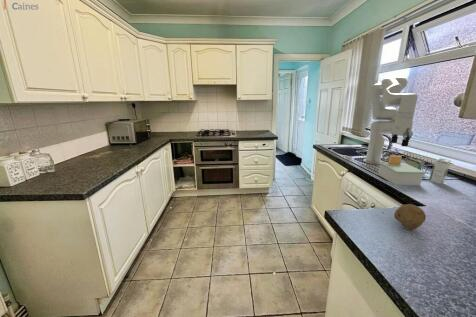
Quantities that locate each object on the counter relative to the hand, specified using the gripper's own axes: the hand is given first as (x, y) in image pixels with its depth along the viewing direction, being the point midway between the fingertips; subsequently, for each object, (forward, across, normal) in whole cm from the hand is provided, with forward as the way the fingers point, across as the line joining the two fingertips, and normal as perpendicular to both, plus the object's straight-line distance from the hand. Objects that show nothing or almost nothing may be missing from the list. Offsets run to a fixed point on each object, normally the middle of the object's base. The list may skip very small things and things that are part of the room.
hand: (398, 144), depth 126 cm
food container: (+21, -8, +19) cm, 30 cm away
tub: (+21, +6, 0) cm, 22 cm away
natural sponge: (+22, +55, -27) cm, 65 cm away
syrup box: (+22, +7, +21) cm, 31 cm away
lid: (+14, +6, 0) cm, 16 cm away
